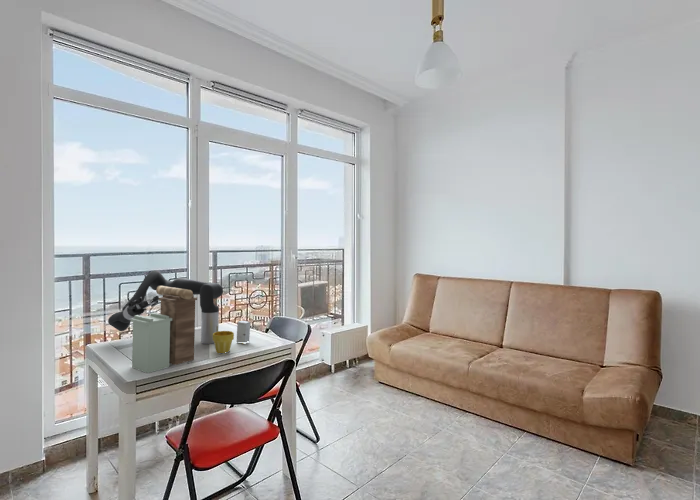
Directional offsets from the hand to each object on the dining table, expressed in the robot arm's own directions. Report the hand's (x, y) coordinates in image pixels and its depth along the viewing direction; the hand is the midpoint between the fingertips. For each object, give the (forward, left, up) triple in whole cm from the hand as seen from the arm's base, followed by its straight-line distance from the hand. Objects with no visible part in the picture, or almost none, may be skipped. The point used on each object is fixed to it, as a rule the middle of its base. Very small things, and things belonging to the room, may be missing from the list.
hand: (149, 298), depth 194 cm
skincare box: (-47, -6, -27) cm, 55 cm away
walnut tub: (-15, +18, -27) cm, 36 cm away
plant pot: (-36, +9, -27) cm, 46 cm away
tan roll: (-13, +16, +3) cm, 21 cm away
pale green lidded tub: (-5, +26, -27) cm, 38 cm away
